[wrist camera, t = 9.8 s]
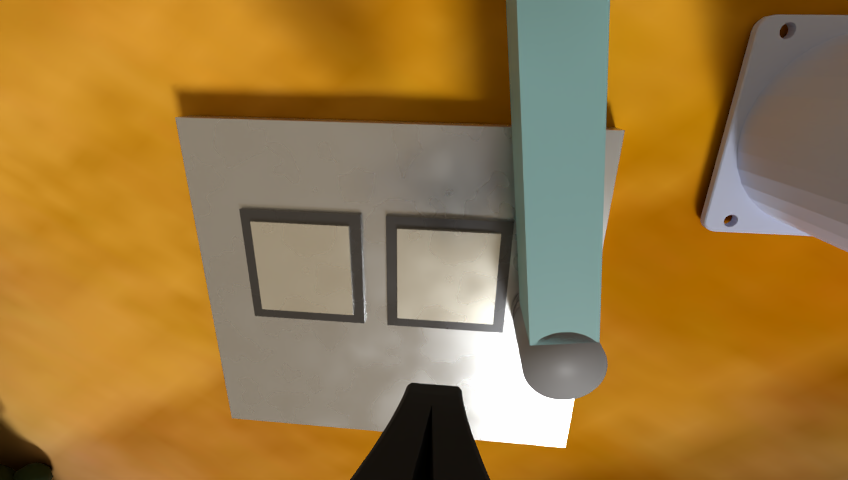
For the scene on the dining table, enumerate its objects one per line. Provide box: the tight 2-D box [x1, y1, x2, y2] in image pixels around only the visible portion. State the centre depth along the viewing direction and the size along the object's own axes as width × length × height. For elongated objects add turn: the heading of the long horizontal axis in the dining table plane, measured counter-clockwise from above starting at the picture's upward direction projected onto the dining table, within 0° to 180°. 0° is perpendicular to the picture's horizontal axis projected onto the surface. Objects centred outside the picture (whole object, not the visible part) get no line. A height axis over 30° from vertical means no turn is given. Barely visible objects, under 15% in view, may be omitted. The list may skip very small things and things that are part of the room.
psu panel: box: [175, 115, 625, 447], centre depth 20 cm, size 18×16×2 cm
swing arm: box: [506, 0, 610, 400], centre depth 14 cm, size 18×3×3 cm, turn 7°
